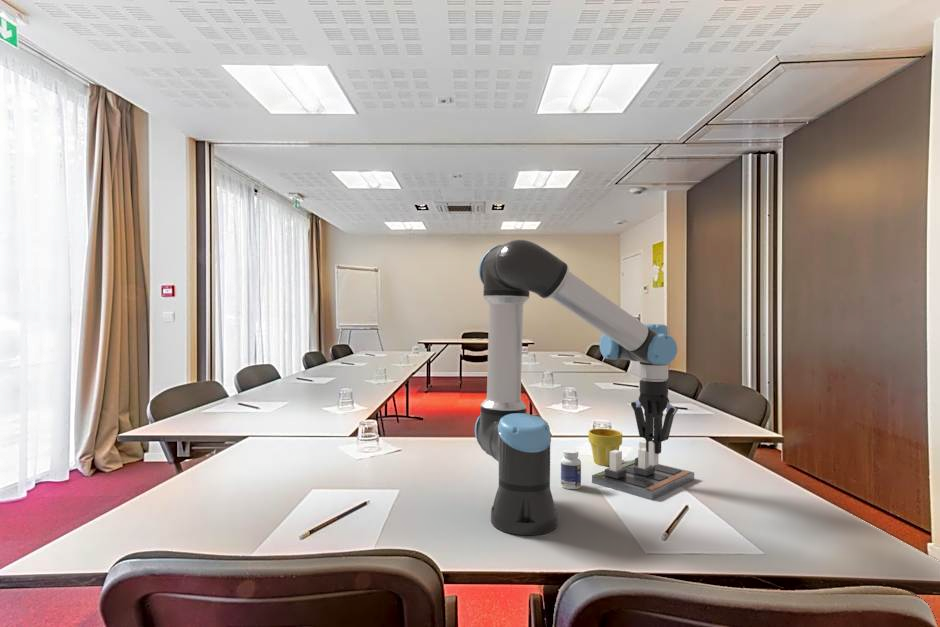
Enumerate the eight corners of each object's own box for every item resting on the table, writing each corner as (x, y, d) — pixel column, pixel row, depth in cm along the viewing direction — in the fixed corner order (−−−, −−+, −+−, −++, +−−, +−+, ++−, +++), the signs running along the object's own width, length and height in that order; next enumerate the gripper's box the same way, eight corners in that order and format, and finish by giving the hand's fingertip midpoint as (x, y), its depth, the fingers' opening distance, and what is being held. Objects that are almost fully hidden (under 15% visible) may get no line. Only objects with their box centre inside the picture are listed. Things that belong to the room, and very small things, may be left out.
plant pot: (626, 468, 156) (626, 436, 156) (592, 467, 156) (592, 435, 156) (617, 458, 166) (617, 428, 166) (585, 458, 166) (585, 428, 166)
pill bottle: (581, 490, 136) (581, 454, 136) (560, 489, 137) (560, 453, 137) (580, 484, 141) (580, 448, 141) (561, 482, 142) (561, 447, 142)
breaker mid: (646, 476, 141) (646, 452, 141) (633, 472, 144) (633, 449, 144) (654, 472, 144) (654, 449, 144) (641, 469, 147) (641, 446, 147)
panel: (652, 500, 129) (652, 491, 129) (591, 482, 142) (591, 474, 142) (694, 479, 145) (694, 471, 145) (636, 465, 159) (636, 458, 159)
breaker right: (647, 466, 149) (647, 444, 149) (634, 463, 152) (635, 441, 152) (654, 463, 152) (654, 441, 152) (642, 460, 155) (642, 439, 155)
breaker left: (617, 478, 138) (617, 454, 138) (604, 475, 141) (604, 451, 141) (626, 475, 141) (626, 451, 141) (613, 471, 144) (613, 448, 144)
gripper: (683, 380, 139) (682, 467, 139) (639, 376, 149) (639, 456, 149) (669, 383, 134) (669, 472, 134) (625, 378, 144) (625, 461, 144)
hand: (653, 464), depth 142 cm, fingers closed
